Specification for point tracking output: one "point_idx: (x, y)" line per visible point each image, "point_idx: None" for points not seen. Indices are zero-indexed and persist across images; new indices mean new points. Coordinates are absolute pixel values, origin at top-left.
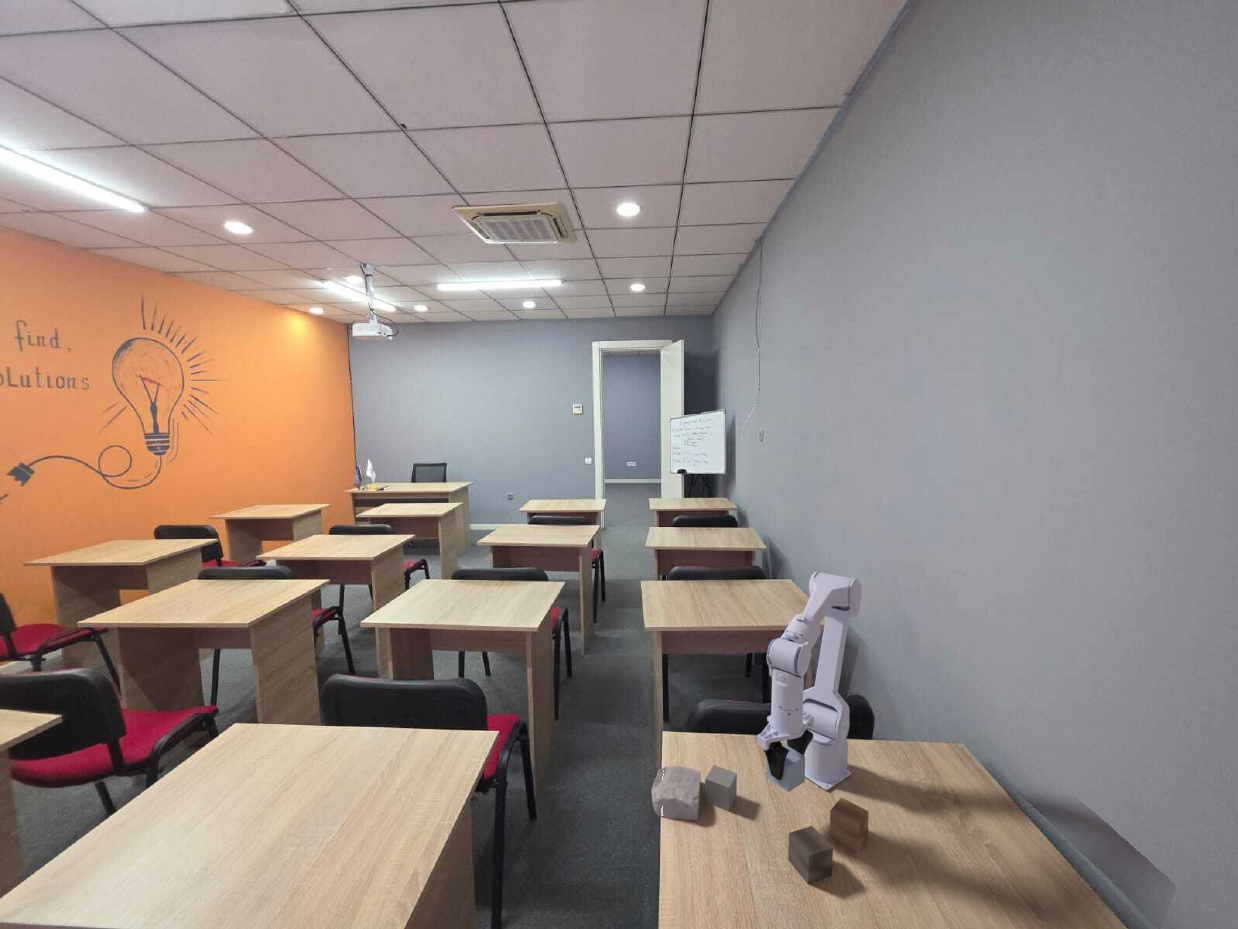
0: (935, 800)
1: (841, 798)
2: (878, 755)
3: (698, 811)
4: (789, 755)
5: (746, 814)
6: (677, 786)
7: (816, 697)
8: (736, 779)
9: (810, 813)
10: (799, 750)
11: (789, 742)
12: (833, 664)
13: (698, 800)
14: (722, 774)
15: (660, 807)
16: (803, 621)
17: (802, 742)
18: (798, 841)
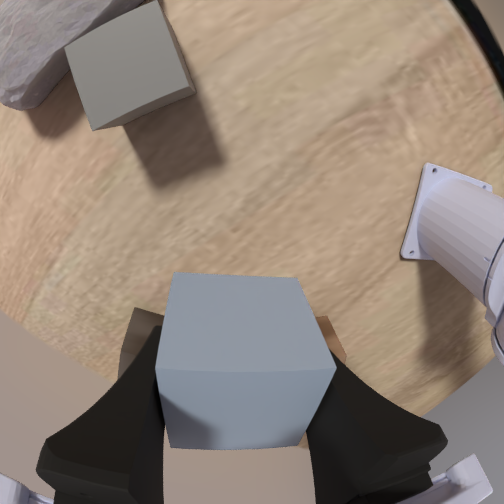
0: (453, 353)
1: (341, 359)
2: None
3: (33, 102)
4: (246, 428)
5: (157, 162)
6: (16, 25)
7: None
8: (187, 89)
9: (304, 268)
10: (314, 436)
11: (335, 413)
12: None
13: (21, 96)
14: (133, 57)
15: None
16: None
17: (320, 485)
18: (123, 370)
